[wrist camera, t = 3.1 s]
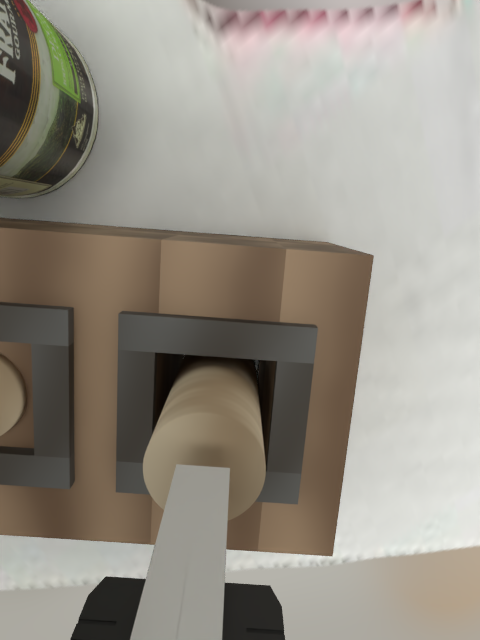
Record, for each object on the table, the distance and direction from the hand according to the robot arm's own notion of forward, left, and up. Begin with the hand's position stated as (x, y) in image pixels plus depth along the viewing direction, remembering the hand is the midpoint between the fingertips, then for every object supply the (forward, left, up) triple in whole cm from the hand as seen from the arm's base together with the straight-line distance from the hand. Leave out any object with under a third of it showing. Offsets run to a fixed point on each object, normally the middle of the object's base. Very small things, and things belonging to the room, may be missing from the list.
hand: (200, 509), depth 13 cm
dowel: (0, 0, -11) cm, 11 cm away
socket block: (-5, 0, -17) cm, 18 cm away
